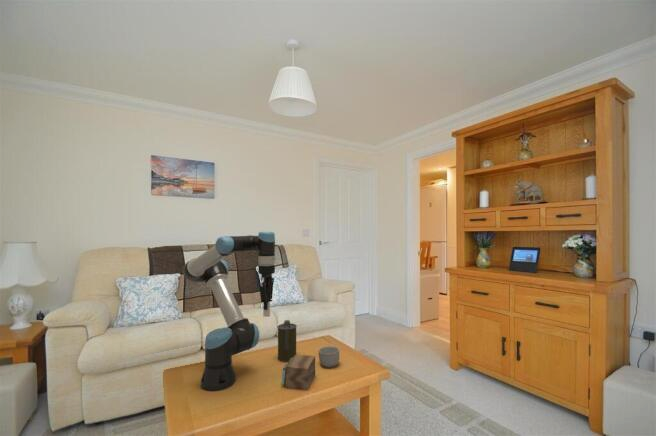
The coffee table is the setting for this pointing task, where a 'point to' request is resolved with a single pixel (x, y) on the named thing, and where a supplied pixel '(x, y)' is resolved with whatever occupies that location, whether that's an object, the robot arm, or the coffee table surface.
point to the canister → (286, 341)
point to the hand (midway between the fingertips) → (266, 316)
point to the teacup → (329, 356)
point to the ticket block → (300, 372)
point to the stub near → (284, 375)
